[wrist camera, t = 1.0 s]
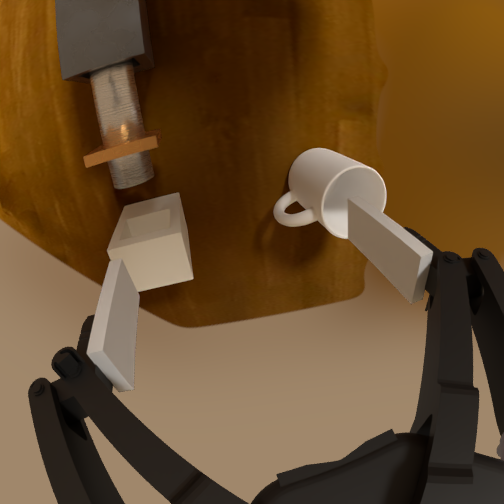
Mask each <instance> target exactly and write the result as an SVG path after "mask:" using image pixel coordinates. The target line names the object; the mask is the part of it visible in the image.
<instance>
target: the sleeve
mask: <svg viewBox="0 0 504 504" xmlns="http://www.w3.org/2000/svg"><path fill="white" fill-rule="evenodd" d="M55 5H56V26H57V38H58V49H59V58H60V66H61V73H62V80H66V81H75V82H82V83H89V84H91V81H90V75H89V72H91V71H93V70H96V69H99V68H102V67H105V66H108V65H112V64H115V63H118V62H121V61H125V60H128V59H132V63H133V69H134V73H136V72H140V71H143V70H147V69H151V68H155V65H154V58H153V52H152V45H151V37H150V30H149V22H148V14H147V5H146V0H55Z"/></svg>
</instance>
